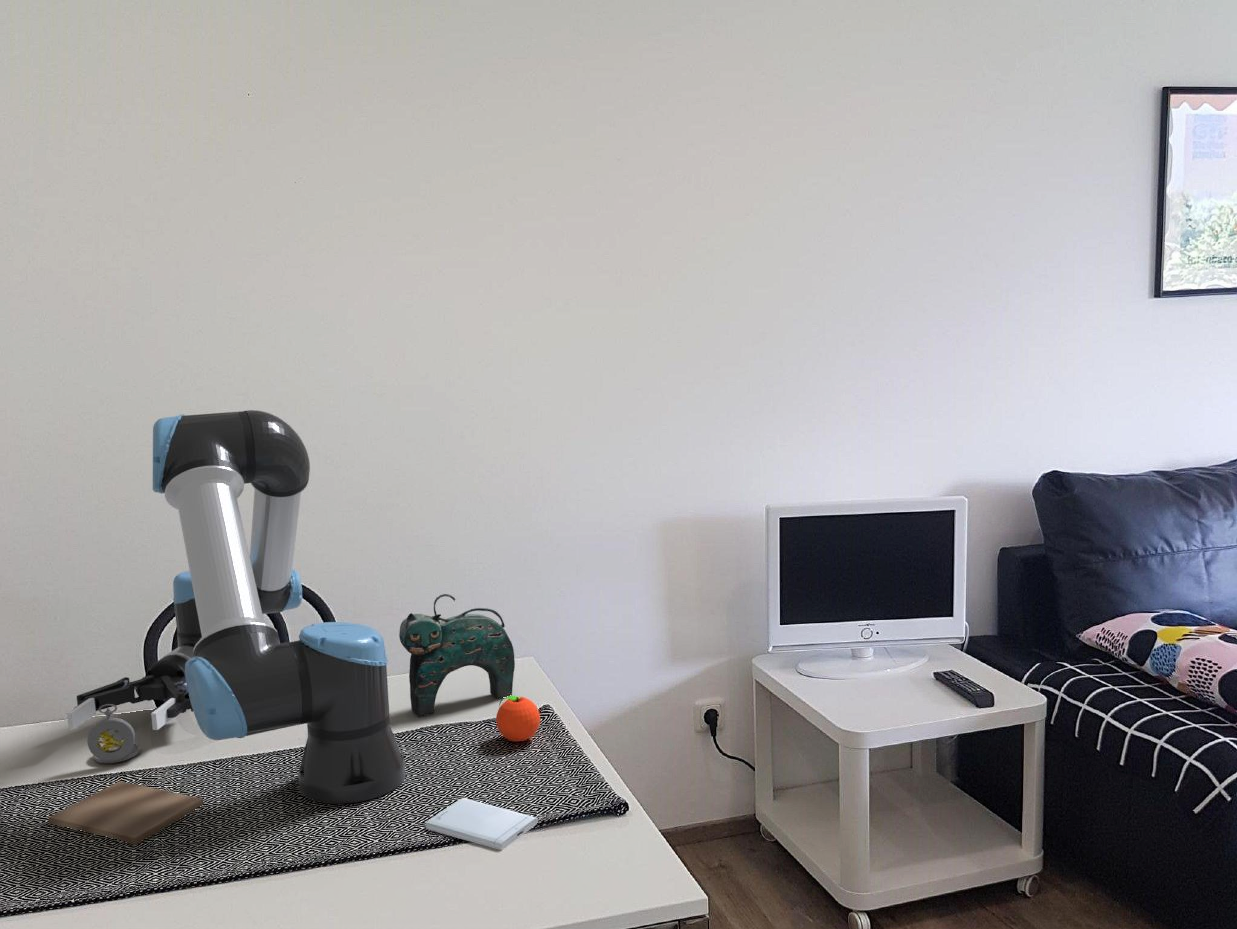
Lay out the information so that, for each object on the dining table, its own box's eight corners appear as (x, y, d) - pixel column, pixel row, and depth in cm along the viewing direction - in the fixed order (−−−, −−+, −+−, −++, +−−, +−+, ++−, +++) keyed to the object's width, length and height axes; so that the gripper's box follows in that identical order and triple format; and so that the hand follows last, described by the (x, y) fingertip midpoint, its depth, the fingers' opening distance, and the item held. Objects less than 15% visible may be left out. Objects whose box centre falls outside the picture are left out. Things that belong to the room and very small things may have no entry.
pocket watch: (127, 744, 179) (120, 685, 177) (153, 757, 173) (147, 696, 172) (75, 762, 172) (68, 700, 171) (102, 776, 167) (95, 712, 166)
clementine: (483, 739, 177) (481, 697, 175) (515, 726, 182) (513, 684, 180) (517, 752, 171) (515, 708, 170) (550, 738, 176) (548, 695, 175)
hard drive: (425, 821, 148) (501, 842, 141) (463, 796, 155) (538, 815, 148) (426, 833, 148) (502, 854, 142) (464, 807, 155) (538, 826, 149)
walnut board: (203, 805, 156) (202, 798, 156) (135, 845, 146) (134, 838, 145) (120, 787, 163) (119, 781, 163) (49, 824, 152) (48, 817, 152)
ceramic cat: (410, 722, 185) (403, 605, 182) (398, 709, 190) (391, 596, 187) (520, 698, 194) (515, 586, 191) (505, 687, 200) (500, 578, 197)
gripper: (247, 695, 193) (191, 744, 172) (109, 695, 195) (38, 744, 175) (244, 653, 192) (187, 698, 171) (105, 653, 194) (32, 698, 173)
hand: (111, 721), depth 173 cm, fingers open, 13 cm apart
